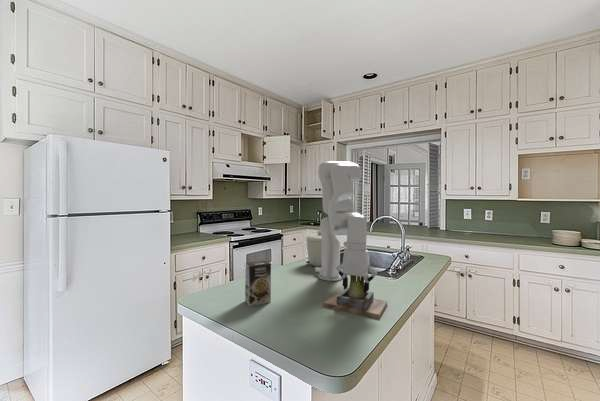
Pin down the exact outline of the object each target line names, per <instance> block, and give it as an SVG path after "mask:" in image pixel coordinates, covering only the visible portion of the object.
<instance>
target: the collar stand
mask: <svg viewBox="0 0 600 401" xmlns="http://www.w3.org/2000/svg"><path fill="white" fill-rule="evenodd" d="M348 293H349V287H347V288H346V289H344V288H343V290H342V291H337V290H335V291H334V293H332V294H331V295H330V296H329V297H328V298H327V299H325V300H324V301H323V302H322V306H323V307H324V308H325V307H326V308H329V309H334V310H337V311H338V310H339V311H344V312H348V313H350V314H351V313H353V314H356V315H360V316H364V317H370V318H374V319H379V320H380V318H381V316H382V315H383V313H384V312H385V310H386V307H387V306H388V300H384V299H378V298H374V295H375V294H374V291H369V290H368V291H367V292H366V293H364V296H363V299H362V300H360V299H355V298H350V297H349V296H348Z"/></svg>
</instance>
